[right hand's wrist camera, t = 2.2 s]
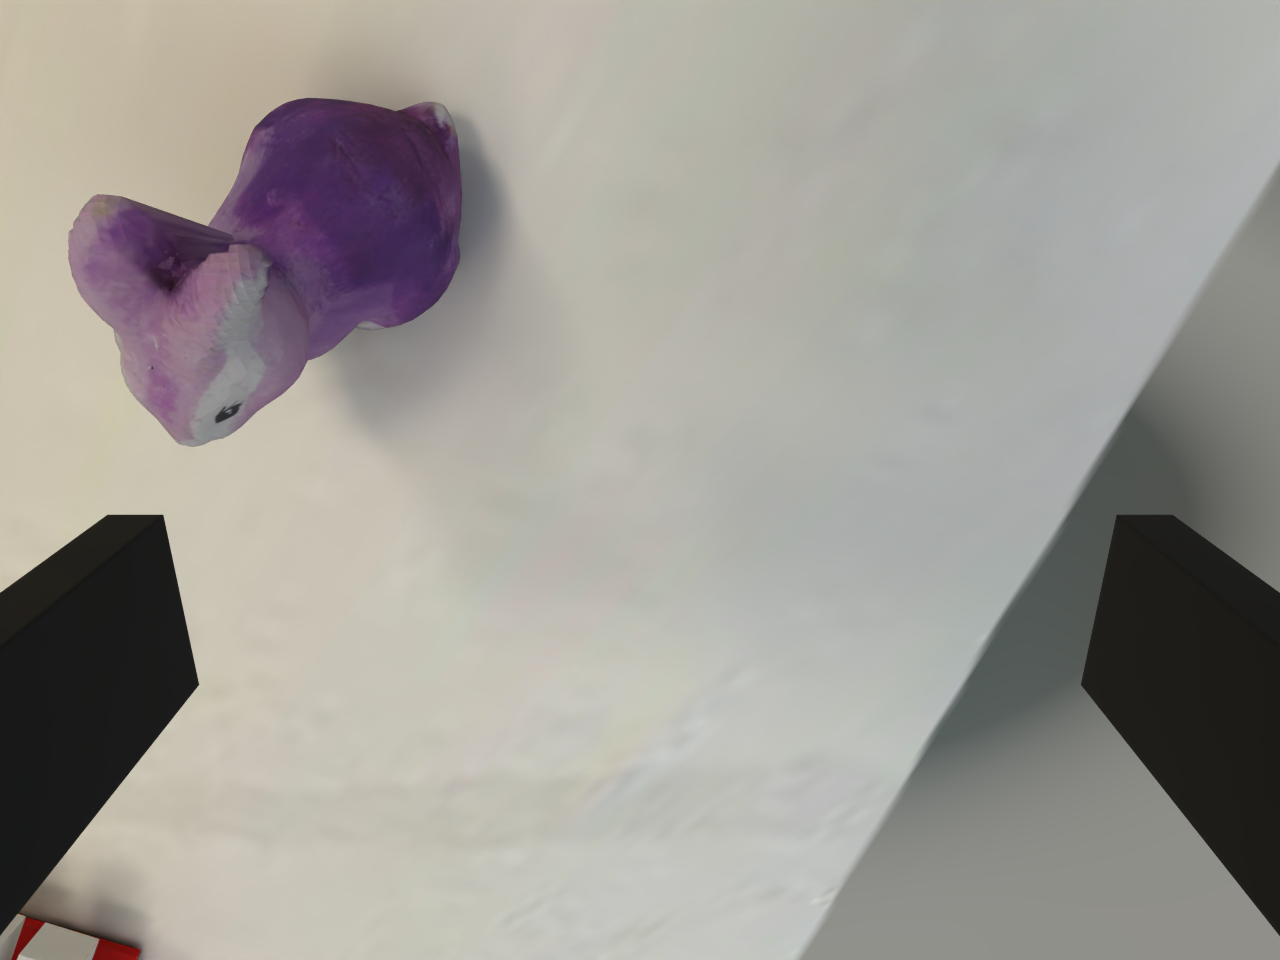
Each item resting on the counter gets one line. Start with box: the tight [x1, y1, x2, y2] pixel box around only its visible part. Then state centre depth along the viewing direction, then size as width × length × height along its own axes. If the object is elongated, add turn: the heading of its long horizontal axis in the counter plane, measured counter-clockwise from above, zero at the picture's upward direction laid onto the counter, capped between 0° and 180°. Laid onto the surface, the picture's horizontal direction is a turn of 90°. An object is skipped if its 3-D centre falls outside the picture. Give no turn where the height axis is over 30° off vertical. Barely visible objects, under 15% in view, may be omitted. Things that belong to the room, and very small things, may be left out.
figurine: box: [68, 98, 462, 447], centre depth 29 cm, size 9×10×15 cm
